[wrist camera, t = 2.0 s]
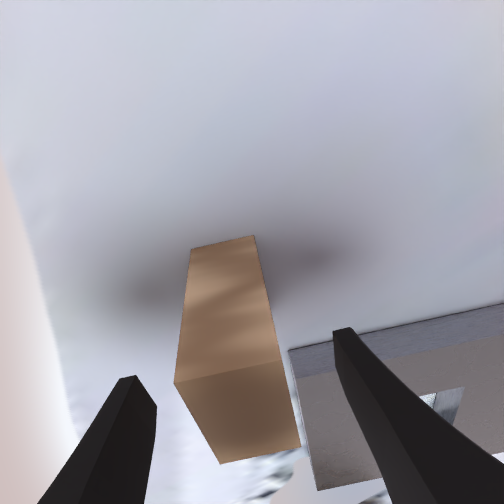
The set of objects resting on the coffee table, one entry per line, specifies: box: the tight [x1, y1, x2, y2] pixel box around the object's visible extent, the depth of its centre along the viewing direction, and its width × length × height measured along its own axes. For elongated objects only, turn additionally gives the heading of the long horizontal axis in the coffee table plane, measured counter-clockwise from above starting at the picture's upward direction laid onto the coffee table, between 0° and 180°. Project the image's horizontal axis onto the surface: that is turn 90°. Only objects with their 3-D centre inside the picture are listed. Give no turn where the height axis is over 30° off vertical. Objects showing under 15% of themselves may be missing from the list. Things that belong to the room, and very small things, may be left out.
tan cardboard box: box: [174, 235, 301, 464], centre depth 12 cm, size 3×5×7 cm, turn 11°
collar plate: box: [288, 304, 504, 491], centre depth 22 cm, size 16×16×2 cm
